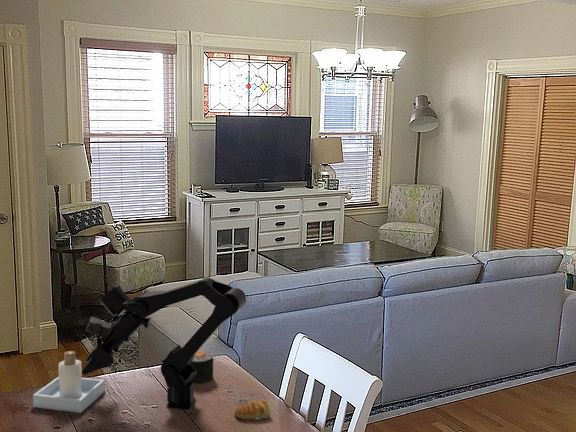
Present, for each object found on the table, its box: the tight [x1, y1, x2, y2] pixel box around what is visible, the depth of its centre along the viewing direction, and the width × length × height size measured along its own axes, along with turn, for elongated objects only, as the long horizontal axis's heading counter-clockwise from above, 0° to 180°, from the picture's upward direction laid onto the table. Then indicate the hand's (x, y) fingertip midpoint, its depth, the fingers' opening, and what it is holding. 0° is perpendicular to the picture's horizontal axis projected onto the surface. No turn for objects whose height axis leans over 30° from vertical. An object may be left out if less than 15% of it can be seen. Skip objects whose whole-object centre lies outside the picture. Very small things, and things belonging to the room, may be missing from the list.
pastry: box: [234, 399, 271, 420], centre depth 175 cm, size 9×7×4 cm
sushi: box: [191, 350, 214, 384], centre depth 198 cm, size 8×8×8 cm
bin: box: [32, 376, 106, 414], centre depth 182 cm, size 14×14×4 cm
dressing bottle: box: [58, 350, 83, 399], centre depth 181 cm, size 6×6×13 cm
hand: (85, 367), depth 181 cm, fingers open, 9 cm apart
